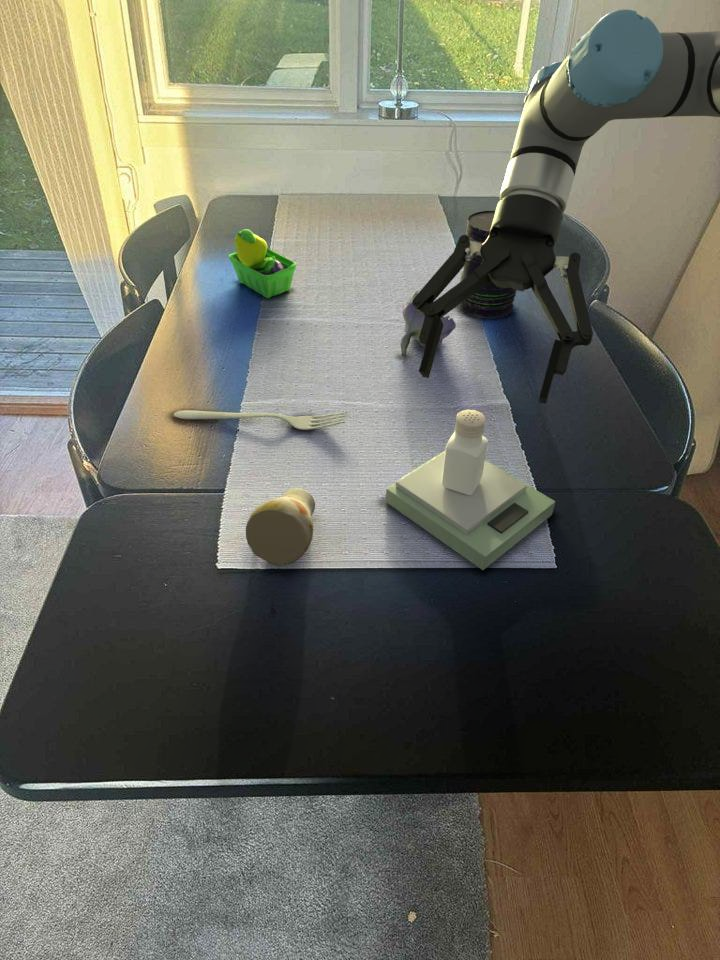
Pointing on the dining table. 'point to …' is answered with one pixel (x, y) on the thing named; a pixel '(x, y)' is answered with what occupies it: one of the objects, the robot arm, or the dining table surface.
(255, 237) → the fruit basket
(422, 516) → the scale
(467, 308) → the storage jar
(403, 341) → the flower
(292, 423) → the fork
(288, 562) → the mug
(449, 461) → the pepper shaker
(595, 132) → the robot arm
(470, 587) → the dining table surface
